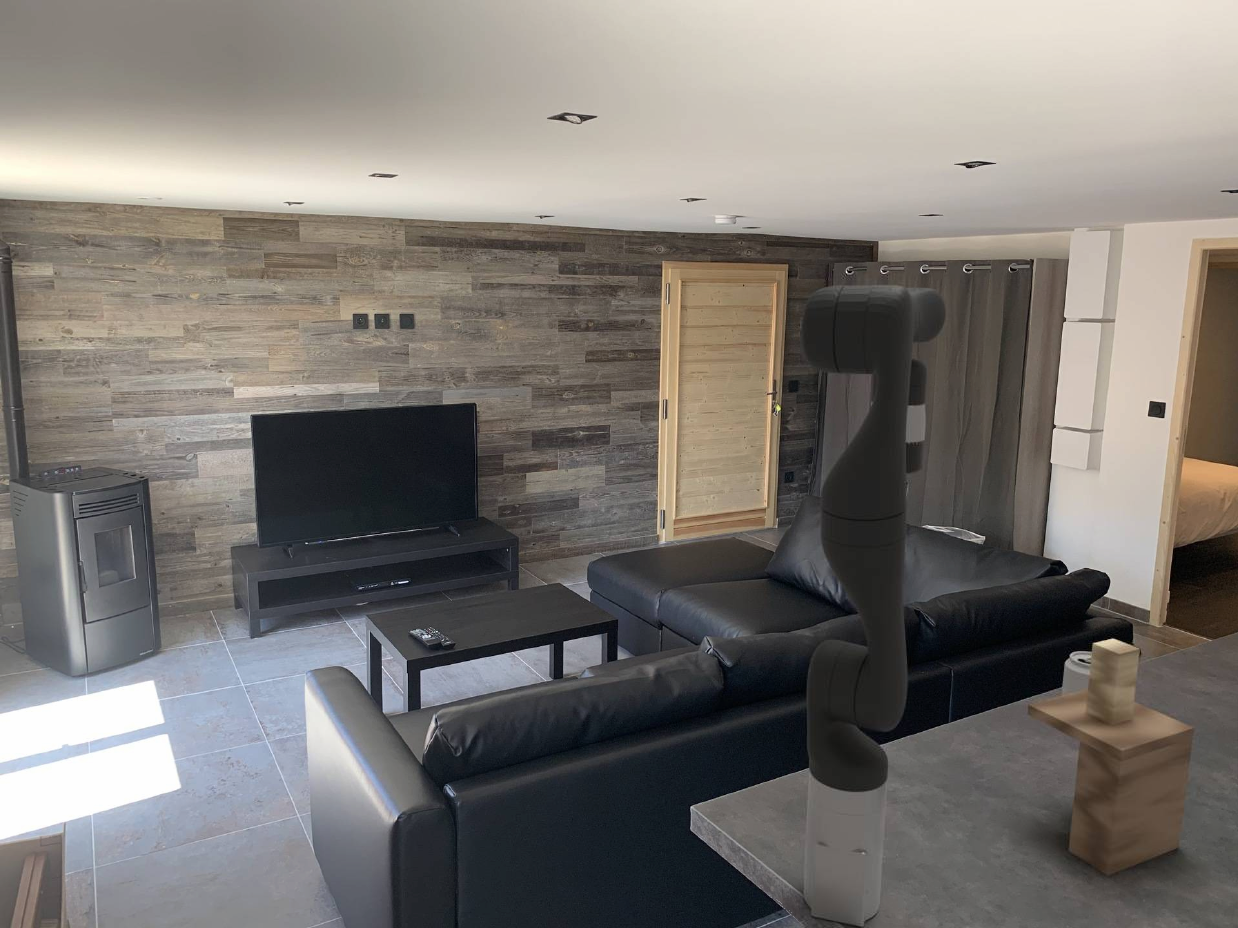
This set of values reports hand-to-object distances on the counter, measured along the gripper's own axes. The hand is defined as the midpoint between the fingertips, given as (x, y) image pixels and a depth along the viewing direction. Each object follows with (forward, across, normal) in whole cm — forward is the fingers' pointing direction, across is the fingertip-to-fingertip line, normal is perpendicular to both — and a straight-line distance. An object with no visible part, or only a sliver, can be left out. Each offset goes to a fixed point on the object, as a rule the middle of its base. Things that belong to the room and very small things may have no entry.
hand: (889, 549), depth 136 cm
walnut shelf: (+38, 0, -30) cm, 48 cm away
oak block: (+20, 0, -30) cm, 36 cm away
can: (+38, +36, -32) cm, 62 cm away
